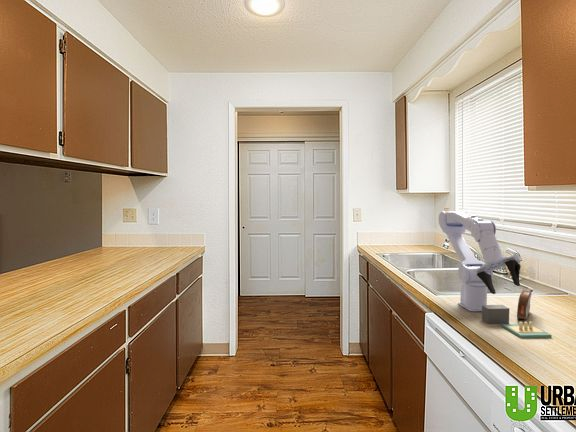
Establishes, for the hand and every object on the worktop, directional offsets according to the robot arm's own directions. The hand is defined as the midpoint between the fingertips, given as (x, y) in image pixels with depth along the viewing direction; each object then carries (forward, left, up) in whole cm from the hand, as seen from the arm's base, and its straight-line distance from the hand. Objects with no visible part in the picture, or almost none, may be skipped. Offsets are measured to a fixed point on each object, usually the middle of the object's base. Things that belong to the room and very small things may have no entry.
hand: (505, 289), depth 112 cm
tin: (-9, +13, -12) cm, 20 cm away
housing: (-4, 0, -12) cm, 13 cm away
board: (+5, +4, -12) cm, 13 cm away
